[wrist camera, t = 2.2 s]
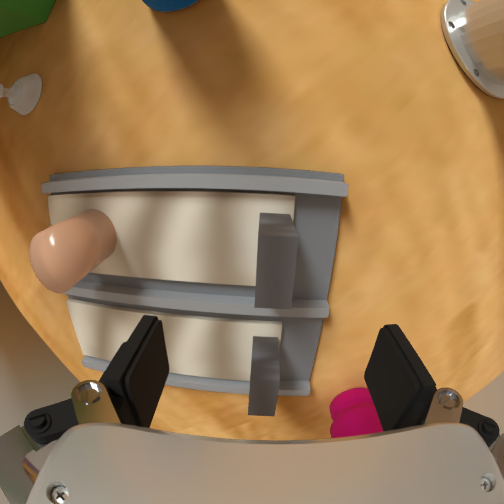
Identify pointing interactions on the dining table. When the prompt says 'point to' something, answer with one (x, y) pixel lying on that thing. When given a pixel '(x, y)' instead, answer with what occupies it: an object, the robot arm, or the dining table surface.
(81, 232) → the light brown rounded piece
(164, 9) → the beverage can
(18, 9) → the hardback book
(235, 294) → the track board
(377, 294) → the dining table surface
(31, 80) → the chalice
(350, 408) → the pepper mill
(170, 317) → the strip
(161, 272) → the strip
